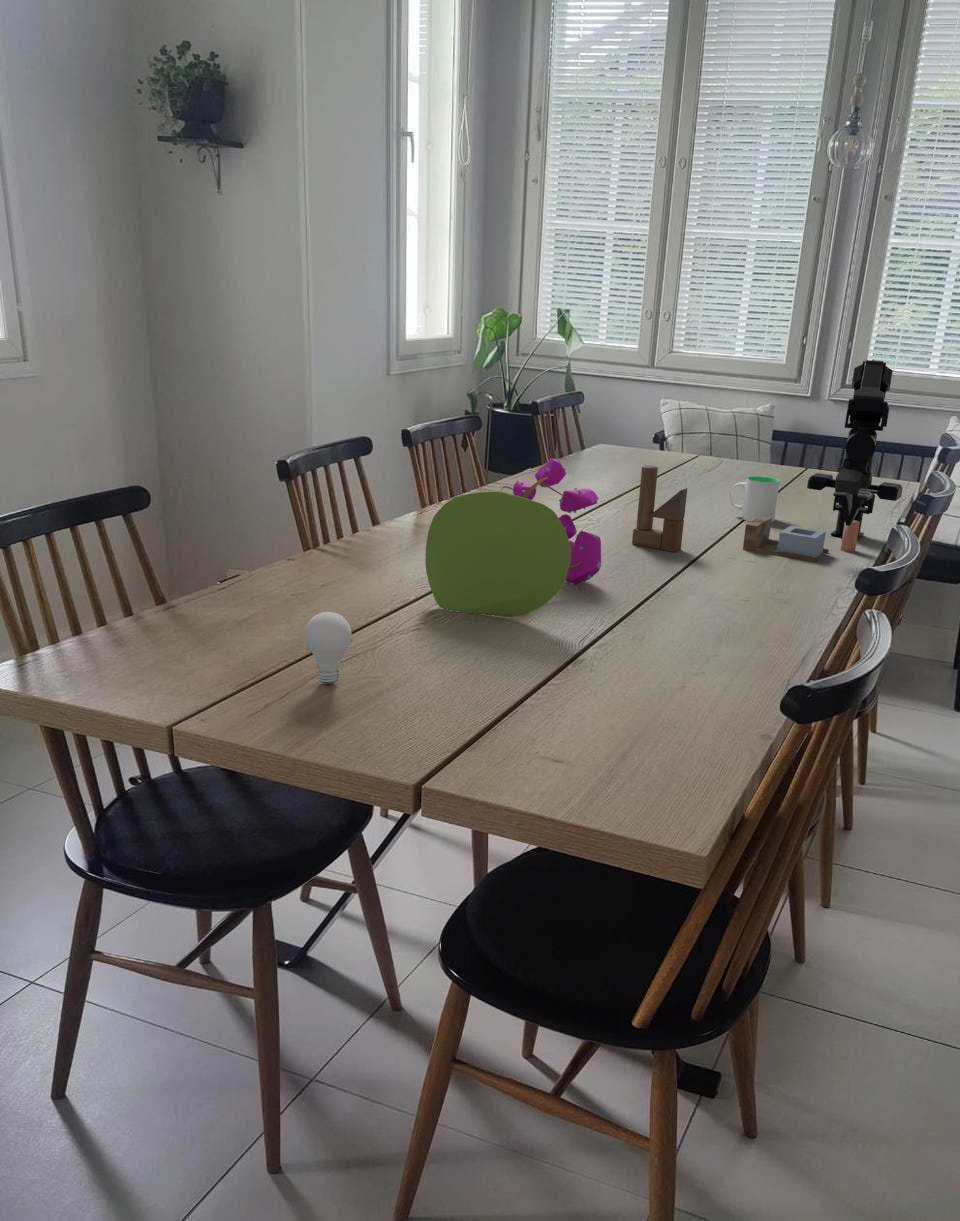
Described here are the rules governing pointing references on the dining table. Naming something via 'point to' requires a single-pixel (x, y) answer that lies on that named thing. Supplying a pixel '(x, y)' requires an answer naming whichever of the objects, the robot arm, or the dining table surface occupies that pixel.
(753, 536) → the track wall
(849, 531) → the pink rectangular block
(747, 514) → the mug
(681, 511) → the wooden block
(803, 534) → the socket block
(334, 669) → the light bulb
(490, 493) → the green pad purple flowers
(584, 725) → the dining table surface
